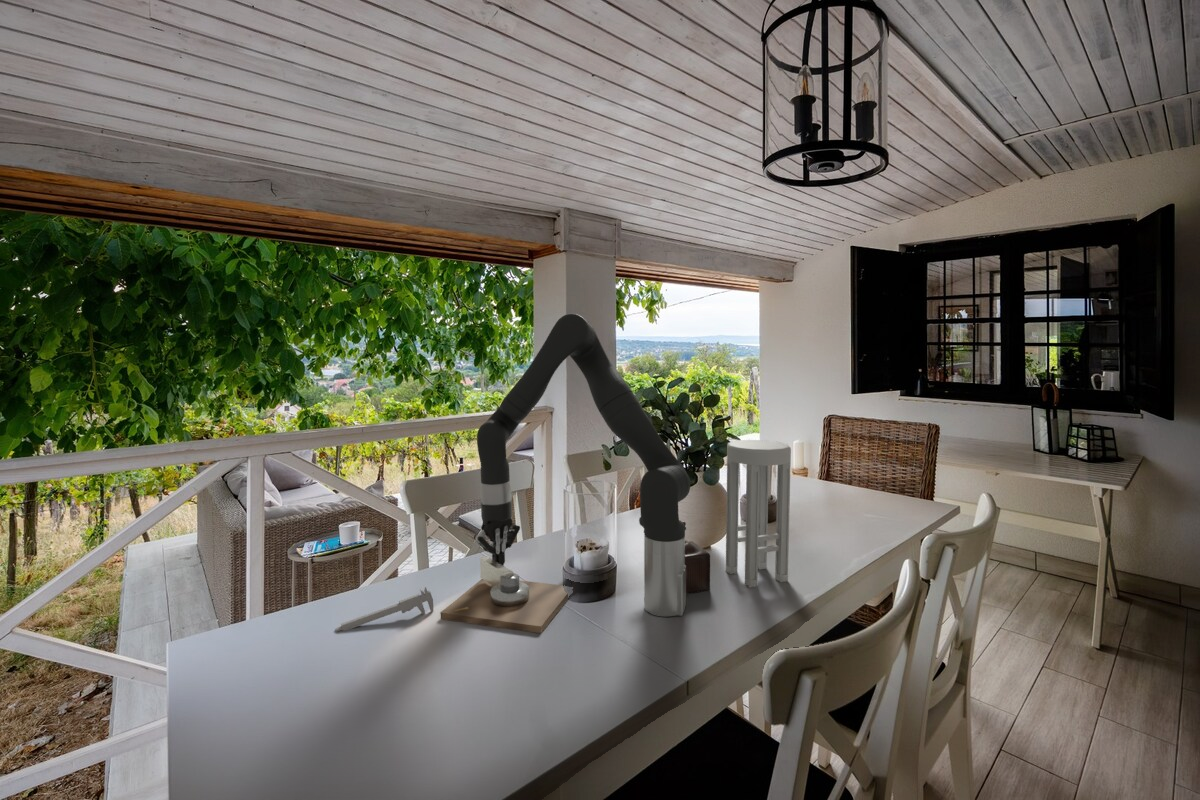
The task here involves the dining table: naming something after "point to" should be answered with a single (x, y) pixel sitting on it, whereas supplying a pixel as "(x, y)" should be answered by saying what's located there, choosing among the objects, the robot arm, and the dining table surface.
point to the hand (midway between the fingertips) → (498, 566)
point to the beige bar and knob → (503, 583)
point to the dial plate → (508, 607)
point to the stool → (758, 507)
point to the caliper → (392, 610)
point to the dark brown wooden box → (695, 567)
